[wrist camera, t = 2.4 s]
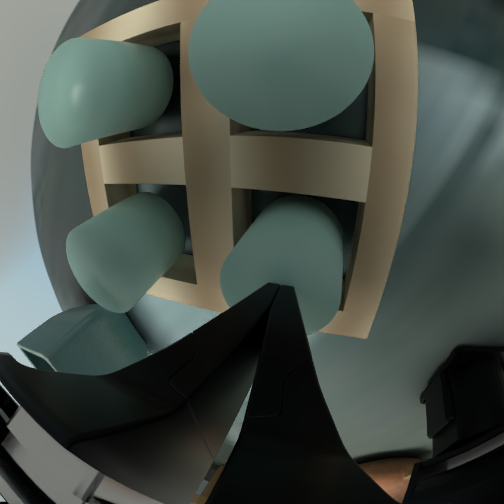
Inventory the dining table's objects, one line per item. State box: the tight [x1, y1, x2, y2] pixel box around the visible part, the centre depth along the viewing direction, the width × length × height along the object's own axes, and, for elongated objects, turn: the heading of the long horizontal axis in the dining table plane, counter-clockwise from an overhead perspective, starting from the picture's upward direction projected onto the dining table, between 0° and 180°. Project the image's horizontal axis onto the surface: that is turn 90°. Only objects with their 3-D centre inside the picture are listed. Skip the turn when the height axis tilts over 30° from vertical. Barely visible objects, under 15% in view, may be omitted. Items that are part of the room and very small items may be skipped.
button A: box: [220, 195, 343, 335], centre depth 10 cm, size 4×4×4 cm
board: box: [79, 0, 418, 339], centre depth 11 cm, size 15×15×2 cm
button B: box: [189, 0, 374, 131], centre depth 6 cm, size 4×4×4 cm
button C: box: [66, 192, 185, 313], centre depth 11 cm, size 4×4×4 cm
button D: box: [38, 38, 174, 148], centre depth 8 cm, size 4×4×4 cm
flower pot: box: [17, 304, 147, 375], centre depth 19 cm, size 9×9×9 cm
